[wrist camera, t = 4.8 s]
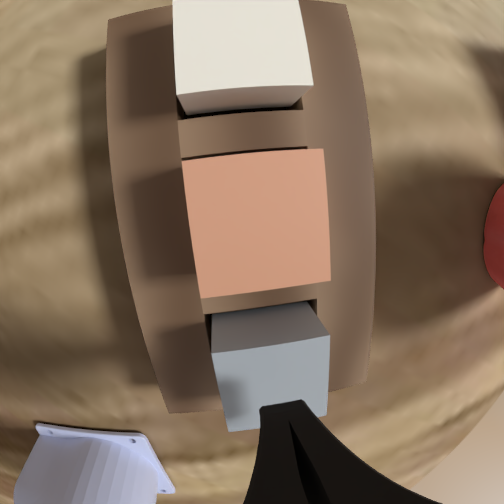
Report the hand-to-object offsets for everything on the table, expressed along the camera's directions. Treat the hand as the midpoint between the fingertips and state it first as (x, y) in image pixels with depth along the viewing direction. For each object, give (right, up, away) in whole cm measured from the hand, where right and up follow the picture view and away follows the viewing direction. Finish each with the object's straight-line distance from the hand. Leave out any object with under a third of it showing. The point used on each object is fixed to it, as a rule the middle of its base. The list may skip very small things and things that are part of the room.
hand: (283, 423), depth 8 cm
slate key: (0, +1, +5) cm, 5 cm away
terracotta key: (-1, +7, +3) cm, 8 cm away
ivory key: (-2, +13, +2) cm, 13 cm away
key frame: (-1, +7, +5) cm, 9 cm away
